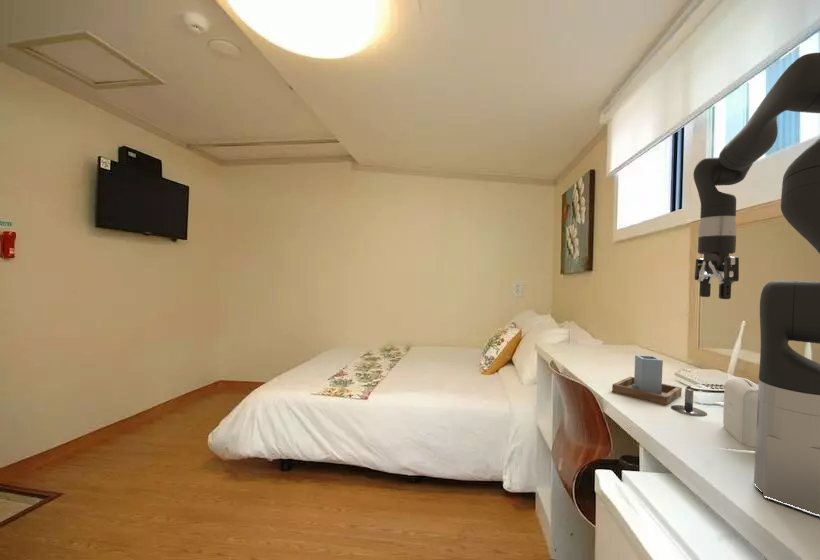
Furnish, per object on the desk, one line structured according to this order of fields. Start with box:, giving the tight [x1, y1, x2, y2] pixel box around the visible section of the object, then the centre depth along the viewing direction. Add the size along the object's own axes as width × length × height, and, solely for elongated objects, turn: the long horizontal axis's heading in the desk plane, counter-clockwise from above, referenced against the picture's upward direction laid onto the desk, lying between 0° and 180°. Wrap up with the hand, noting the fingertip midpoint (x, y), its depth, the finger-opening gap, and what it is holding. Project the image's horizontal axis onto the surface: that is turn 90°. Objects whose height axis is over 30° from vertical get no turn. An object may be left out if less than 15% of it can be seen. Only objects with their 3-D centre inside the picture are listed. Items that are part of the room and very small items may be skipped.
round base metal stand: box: [670, 388, 708, 417], centre depth 90 cm, size 7×7×6 cm
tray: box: [612, 376, 683, 407], centre depth 102 cm, size 13×13×2 cm
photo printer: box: [722, 376, 759, 448], centre depth 76 cm, size 10×4×12 cm, turn 157°
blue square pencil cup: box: [632, 354, 664, 395], centre depth 102 cm, size 5×6×10 cm
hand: (714, 297), depth 94 cm, fingers open, 8 cm apart
